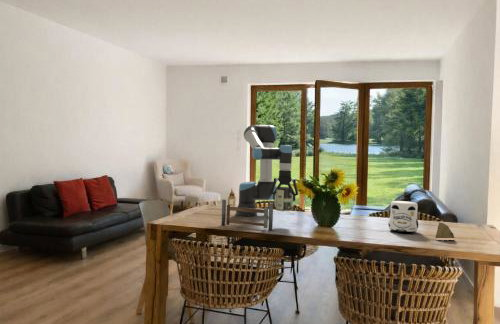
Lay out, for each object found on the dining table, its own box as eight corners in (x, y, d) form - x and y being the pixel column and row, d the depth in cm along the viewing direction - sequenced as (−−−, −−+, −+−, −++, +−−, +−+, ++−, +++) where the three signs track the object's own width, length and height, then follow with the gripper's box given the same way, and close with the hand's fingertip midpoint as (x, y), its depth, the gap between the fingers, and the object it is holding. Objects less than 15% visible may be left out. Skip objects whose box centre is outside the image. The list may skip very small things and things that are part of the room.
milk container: (397, 235, 250) (399, 204, 249) (382, 228, 267) (384, 200, 266) (423, 234, 253) (425, 204, 252) (407, 228, 270) (409, 200, 269)
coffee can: (292, 209, 267) (293, 187, 266) (291, 211, 257) (291, 188, 256) (276, 208, 269) (277, 186, 268) (274, 210, 259) (275, 187, 258)
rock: (456, 235, 242) (438, 231, 247) (458, 225, 237) (439, 221, 242) (452, 249, 235) (433, 244, 240) (454, 239, 230) (434, 234, 235)
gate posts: (222, 225, 262) (223, 199, 261) (272, 230, 252) (273, 203, 252) (220, 225, 260) (221, 199, 259) (271, 230, 250) (272, 203, 249)
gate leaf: (227, 224, 261) (227, 204, 260) (267, 227, 253) (268, 208, 252) (225, 224, 259) (226, 205, 258) (266, 228, 251) (267, 208, 251)
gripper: (266, 169, 262) (264, 205, 263) (302, 171, 255) (300, 207, 256) (269, 168, 269) (268, 203, 270) (304, 170, 262) (303, 206, 263)
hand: (283, 205), depth 263 cm, fingers closed on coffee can, 10 cm apart
